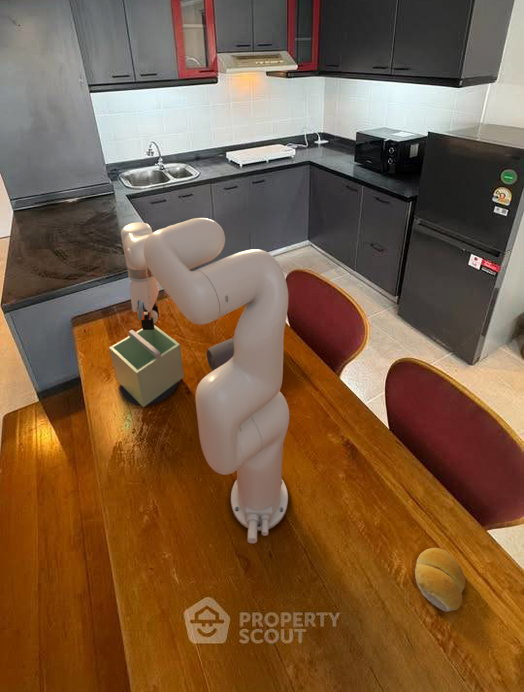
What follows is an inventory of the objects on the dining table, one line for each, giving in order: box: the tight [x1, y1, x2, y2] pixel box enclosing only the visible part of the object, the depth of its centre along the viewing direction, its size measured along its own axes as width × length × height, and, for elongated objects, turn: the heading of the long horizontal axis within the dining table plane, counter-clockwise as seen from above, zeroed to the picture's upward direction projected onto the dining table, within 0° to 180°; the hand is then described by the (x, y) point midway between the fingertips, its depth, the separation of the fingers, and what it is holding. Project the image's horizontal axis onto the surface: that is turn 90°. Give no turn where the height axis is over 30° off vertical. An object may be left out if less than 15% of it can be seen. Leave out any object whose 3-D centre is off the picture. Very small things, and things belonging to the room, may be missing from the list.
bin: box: [108, 324, 185, 408], centre depth 110 cm, size 14×14×14 cm
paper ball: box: [144, 310, 159, 325], centre depth 107 cm, size 4×4×4 cm
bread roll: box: [414, 547, 466, 613], centre depth 71 cm, size 8×9×4 cm
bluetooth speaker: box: [206, 337, 234, 372], centre depth 118 cm, size 23×9×10 cm, turn 118°
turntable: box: [120, 380, 181, 407], centre depth 113 cm, size 17×17×1 cm
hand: (151, 322), depth 108 cm, fingers closed on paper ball, 4 cm apart
